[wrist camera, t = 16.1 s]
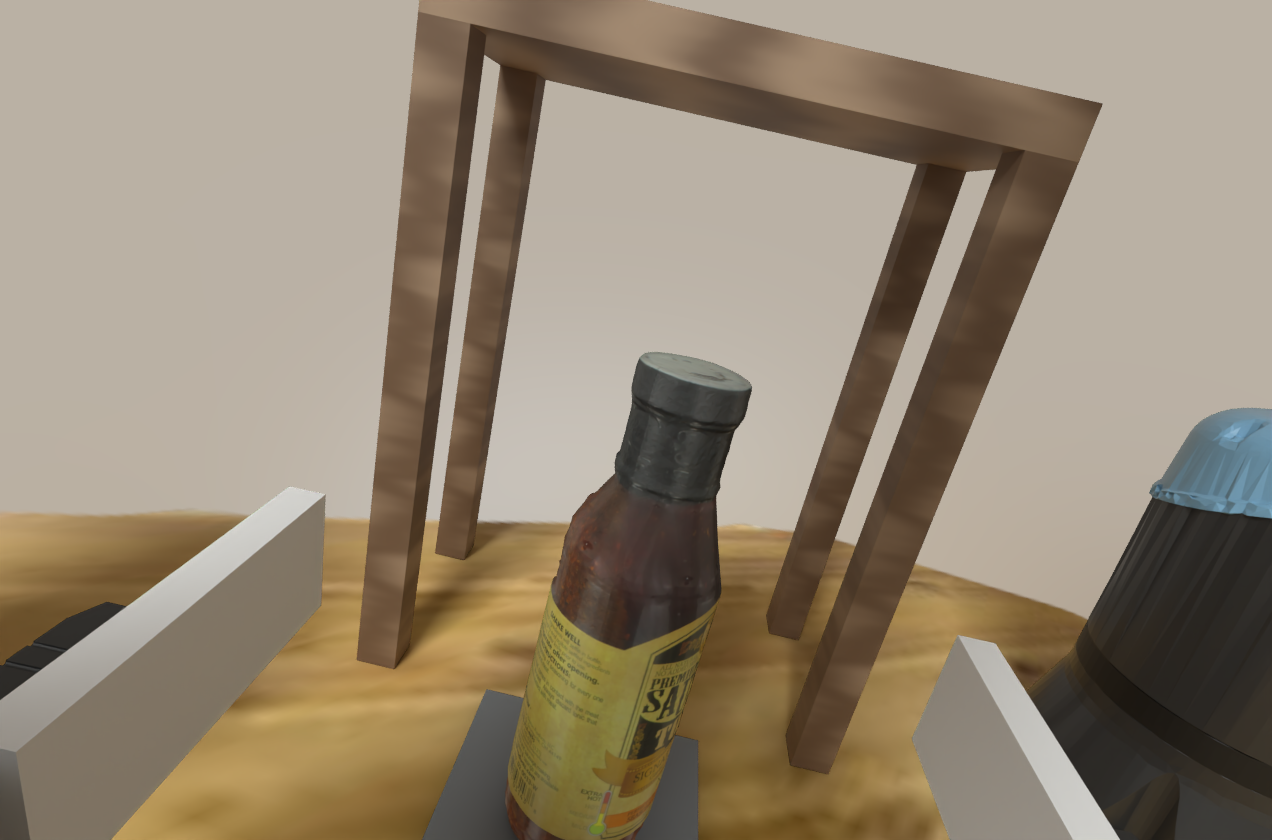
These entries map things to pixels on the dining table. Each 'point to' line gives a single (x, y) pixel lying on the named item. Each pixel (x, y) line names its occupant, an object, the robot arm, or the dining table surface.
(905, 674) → the dining table surface
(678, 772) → the charcoal mat
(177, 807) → the dining table surface
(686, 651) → the sauce bottle
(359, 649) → the walnut table
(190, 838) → the dining table surface
